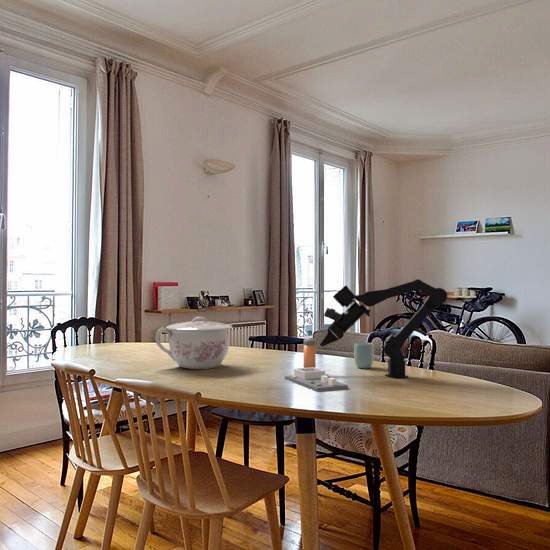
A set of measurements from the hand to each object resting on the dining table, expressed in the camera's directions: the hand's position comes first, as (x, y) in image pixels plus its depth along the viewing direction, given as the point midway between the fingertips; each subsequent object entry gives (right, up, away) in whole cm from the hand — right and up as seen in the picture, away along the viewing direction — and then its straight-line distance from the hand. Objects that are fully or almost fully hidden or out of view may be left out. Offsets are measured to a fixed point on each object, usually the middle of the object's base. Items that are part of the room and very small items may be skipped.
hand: (322, 344), depth 215 cm
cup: (+18, -12, +15) cm, 27 cm away
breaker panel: (-4, -12, -20) cm, 23 cm away
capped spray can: (-5, -12, +1) cm, 12 cm away
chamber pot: (-50, -11, +14) cm, 53 cm away
